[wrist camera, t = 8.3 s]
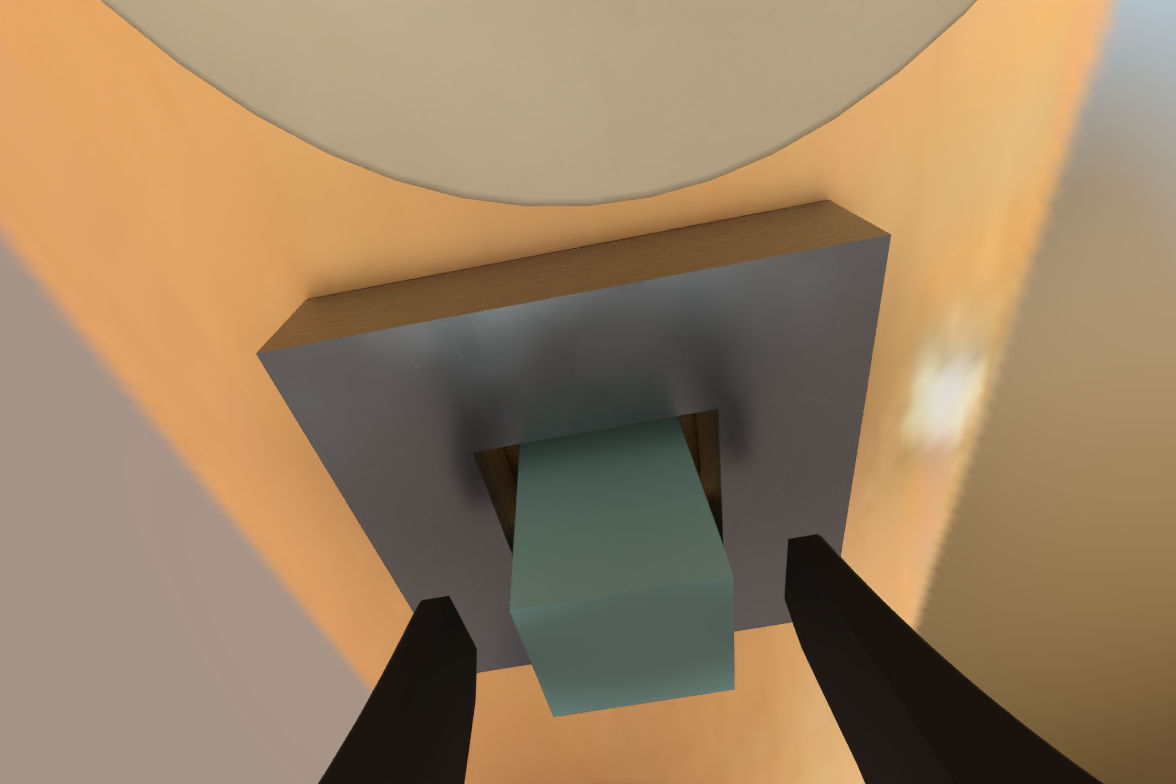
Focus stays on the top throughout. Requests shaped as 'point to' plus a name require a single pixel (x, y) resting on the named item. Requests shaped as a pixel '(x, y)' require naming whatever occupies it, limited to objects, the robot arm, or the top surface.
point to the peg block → (620, 570)
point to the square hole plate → (596, 393)
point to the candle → (545, 82)
